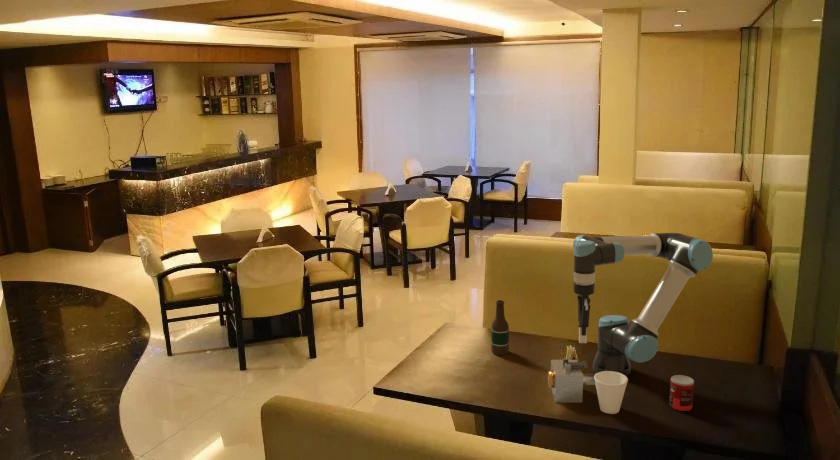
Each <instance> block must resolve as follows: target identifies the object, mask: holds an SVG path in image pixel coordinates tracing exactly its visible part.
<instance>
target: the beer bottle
mask: <svg viewBox="0 0 840 460" xmlns="http://www.w3.org/2000/svg"><path fill="white" fill-rule="evenodd" d="M495 305H496V306H495V317H494V319H493V320H492V323H491V326H490V327H491V329H490V330H491V331H490V333H491V334H490V335H491V338H490V339H491V341H490V343H491V344H490V346H491V347H490V348H491V353H492V354H493V355H496V356H499V357H500V356H507V354H509V352H510V329H509V328H510V325H509V323H508V321H507V320H506V317H505V306H504V305H505V301H504V300H501V299H500V300H496V301H495Z"/></svg>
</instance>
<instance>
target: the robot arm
mask: <svg viewBox="0 0 840 460" xmlns="http://www.w3.org/2000/svg"><path fill="white" fill-rule="evenodd" d="M572 243H573V244H572V247H573V249H574V250H573V273H572V274H571V275H572V277H573V281H574V282H573V293H574V294H575V295H576V294H577V312H578V313H577V316H578V317H577V321H578V326H577V327H578V342H579V344H587V343H588V328H589V327H590V326H589V323H590V313H591V312H590V311H591V305H590V302H591V298H590V297H589V296H590V295H593V294H595V286H596V285H595V282H596V266H603V265H611V264H616V263H621V262H622V261H623V260H624V258H625V256H640V255H641V256H642V255H645V256H646V255H648V256H649V257H652V258H661V259H666V260H667V264H668V265H667V266H668V268H667V269H666V271H665V273H664V274H663V276H662V277H661V279H660V281H659V282H658V284H657V285H656V287H655V289H654V290H653V292H652V293H651V295H650V297H649V299H648V300H647V302H646V303H645V305H644V306H643V308H642V310H641V312H640V313H639V315H638V317H636V318H634V319H631V320H630V321H629V318H628V317H627V316H624V315H619V314H611V315H610V314H608V315H604V316H602V317H600V319H599V320H598V326H597V327H598V329H597V330H598V331H597V352H596V353H595V354H596V355H595V357H594V359H593V362H592V370H593V371H594V372H595V374H596V373H599V372H602V371H613V372H618V373H621V374H623V375H625V376H626V377H627V376H629V375H630V373H631V370H632V368H631V362H630V361H634V363H635V362H636V363H639V364H641V363H645V362H648V361H650V360H652V359H653V358H654V357H655V355H656V354H657V352H658V349H659V347H658V346H659V342H658V337H660V336H659V332H658V330H659V328H660V327H661V325H662V323H663V322H664V320H665V318H666V317H667V316H668V314H669V312H670V310H671V309H672V307H673V305H674V304H675V302H676V300H677V299H678V297H679V295H680V294H681V293H682V291H683V289H684V288H685V286H686V285H687V282H688V281H689V279H690V278H691V279H692V278H695V277H696V276H697V274H698V273H699V272H702V271H705V270H707V269H708V268H709V267H710V266H711V264H712V262H713V256H714V253H713V248H712V246H711V245H710V243H709V242H707V241H706V240H704V239H701V238H698V237H694V236H691V235H687V234H683V233H679V232H659V233H658V232H655V233H649V234H648V235H633V236H632V235H627V236H626V235H623V236H622V235H621V236H620V235H619V236H618V235H617V236H613V235H611V236H589V235H587V234H579V235H578V236H576V237H575V238H574V240H573V242H572Z"/></svg>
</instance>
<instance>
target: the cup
mask: <svg viewBox="0 0 840 460" xmlns="http://www.w3.org/2000/svg"><path fill="white" fill-rule="evenodd" d="M594 374H595V376H594V379H595V384H596V385H595V388H596V393H597V400H598V404H599V405H598V406H599V409H600V411H601V412H603V413H605V414H607V415H608V414H610V415H615V414H617V413H619V412H620V409H621V406H622V402H623V400H624V399H623V398H624V396H625V395H624V394H625V391H626V389H627V385H628V382H629V379H628V377H627V376H625V375H623V374H621V373H618V372H613V371H602V372H599V373H596V372H595V373H594Z"/></svg>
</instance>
